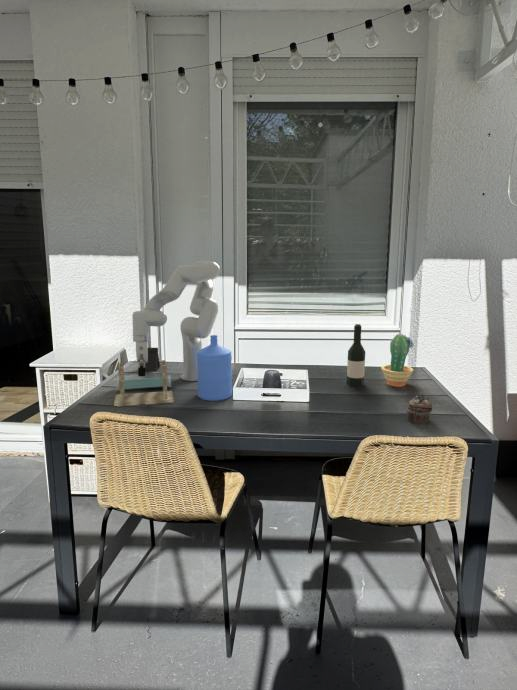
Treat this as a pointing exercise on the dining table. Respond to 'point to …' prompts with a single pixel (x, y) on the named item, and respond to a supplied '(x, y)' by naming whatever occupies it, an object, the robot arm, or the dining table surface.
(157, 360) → the phone stand
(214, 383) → the water jug
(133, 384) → the teal long bar
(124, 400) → the stand
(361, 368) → the wine bottle
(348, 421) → the dining table surface
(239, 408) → the dining table surface
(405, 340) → the potted cactus
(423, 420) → the cupcake
